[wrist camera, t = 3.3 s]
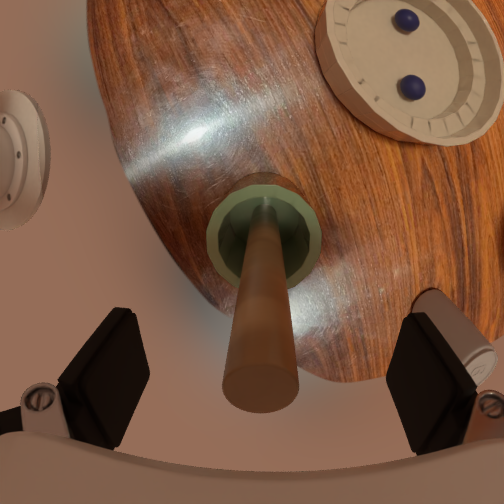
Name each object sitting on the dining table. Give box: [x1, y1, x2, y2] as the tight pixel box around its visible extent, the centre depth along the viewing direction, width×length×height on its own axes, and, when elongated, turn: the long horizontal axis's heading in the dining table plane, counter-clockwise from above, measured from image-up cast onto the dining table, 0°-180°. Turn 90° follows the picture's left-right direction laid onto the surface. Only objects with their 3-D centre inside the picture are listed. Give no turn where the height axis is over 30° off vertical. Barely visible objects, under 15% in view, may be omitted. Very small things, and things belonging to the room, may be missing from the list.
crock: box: [206, 172, 322, 289], centre depth 24 cm, size 8×8×8 cm
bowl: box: [315, 0, 504, 146], centre depth 18 cm, size 17×17×6 cm
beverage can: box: [412, 289, 498, 386], centre depth 25 cm, size 5×5×12 cm
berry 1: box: [395, 9, 420, 32], centre depth 18 cm, size 2×2×2 cm
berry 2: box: [400, 75, 426, 100], centre depth 21 cm, size 2×2×2 cm
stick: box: [222, 204, 299, 413], centre depth 17 cm, size 2×2×20 cm
